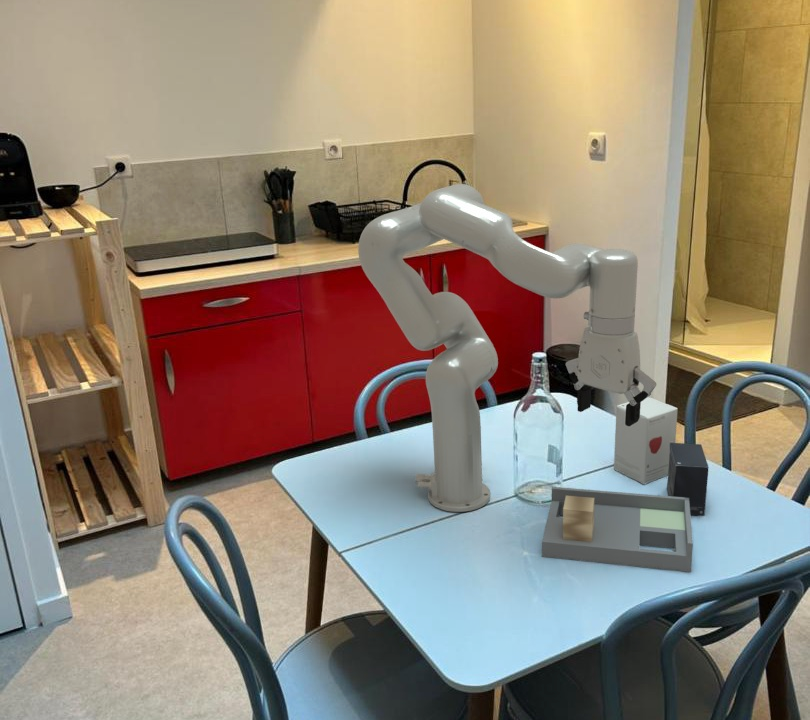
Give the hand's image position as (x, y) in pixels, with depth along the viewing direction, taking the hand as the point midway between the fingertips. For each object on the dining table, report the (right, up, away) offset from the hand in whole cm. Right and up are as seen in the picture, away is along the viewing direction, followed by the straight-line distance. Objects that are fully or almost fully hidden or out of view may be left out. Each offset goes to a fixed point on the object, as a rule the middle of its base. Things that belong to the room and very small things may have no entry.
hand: (607, 416), depth 144 cm
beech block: (-5, -21, +2) cm, 22 cm away
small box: (+19, -18, +16) cm, 31 cm away
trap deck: (+3, -23, +5) cm, 23 cm away
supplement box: (+15, -14, +29) cm, 36 cm away
